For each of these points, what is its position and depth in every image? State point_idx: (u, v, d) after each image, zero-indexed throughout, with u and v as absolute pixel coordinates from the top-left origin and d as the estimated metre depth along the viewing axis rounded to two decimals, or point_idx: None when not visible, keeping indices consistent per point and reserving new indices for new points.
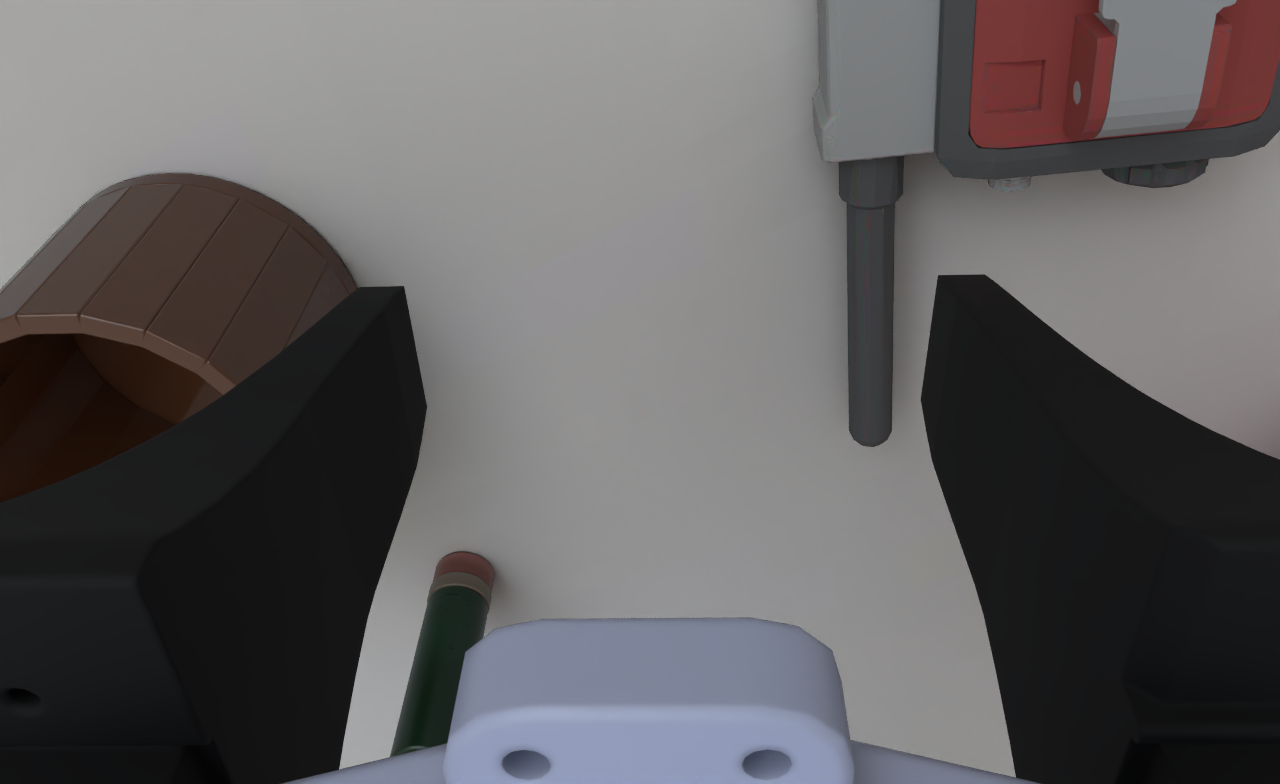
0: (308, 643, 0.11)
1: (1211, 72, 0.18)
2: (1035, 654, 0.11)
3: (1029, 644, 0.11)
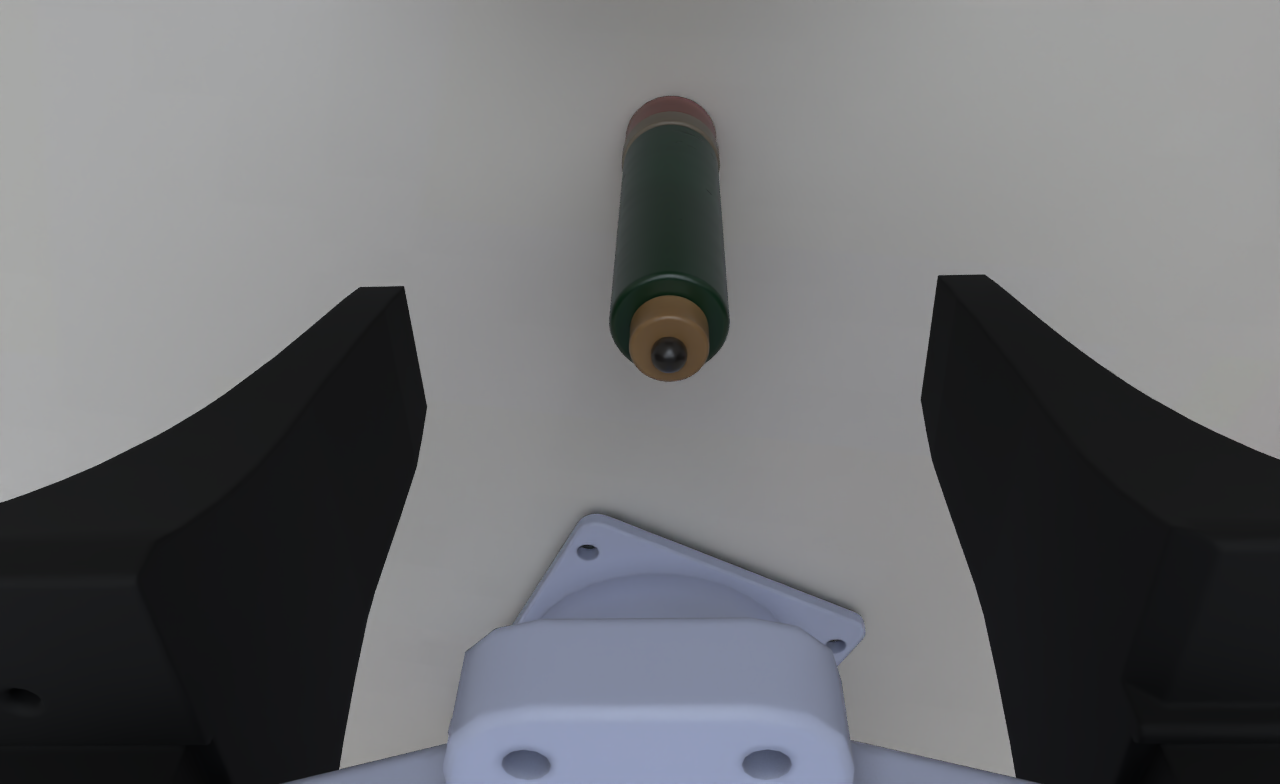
0: (308, 643, 0.11)
1: None
2: (1035, 654, 0.11)
3: (1029, 642, 0.11)
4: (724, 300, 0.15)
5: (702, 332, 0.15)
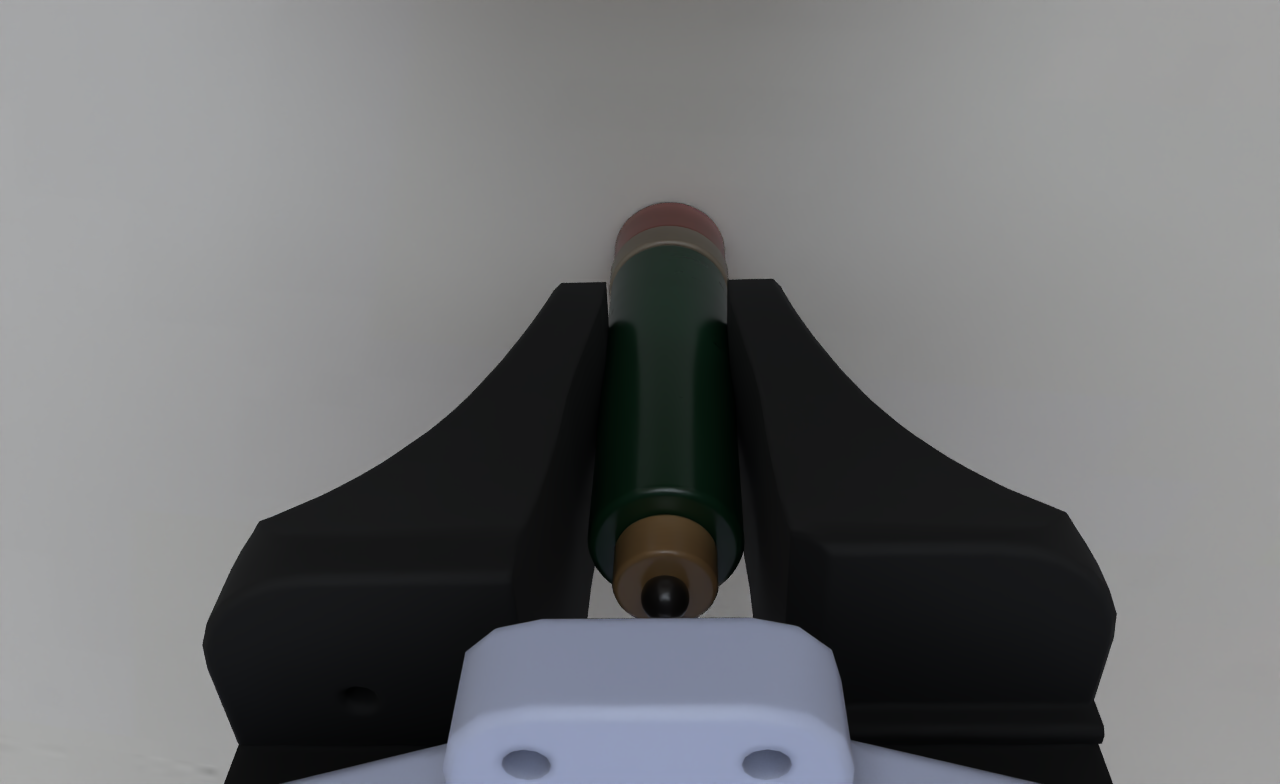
0: None
1: None
2: None
3: None
4: (738, 517, 0.12)
5: (709, 570, 0.11)
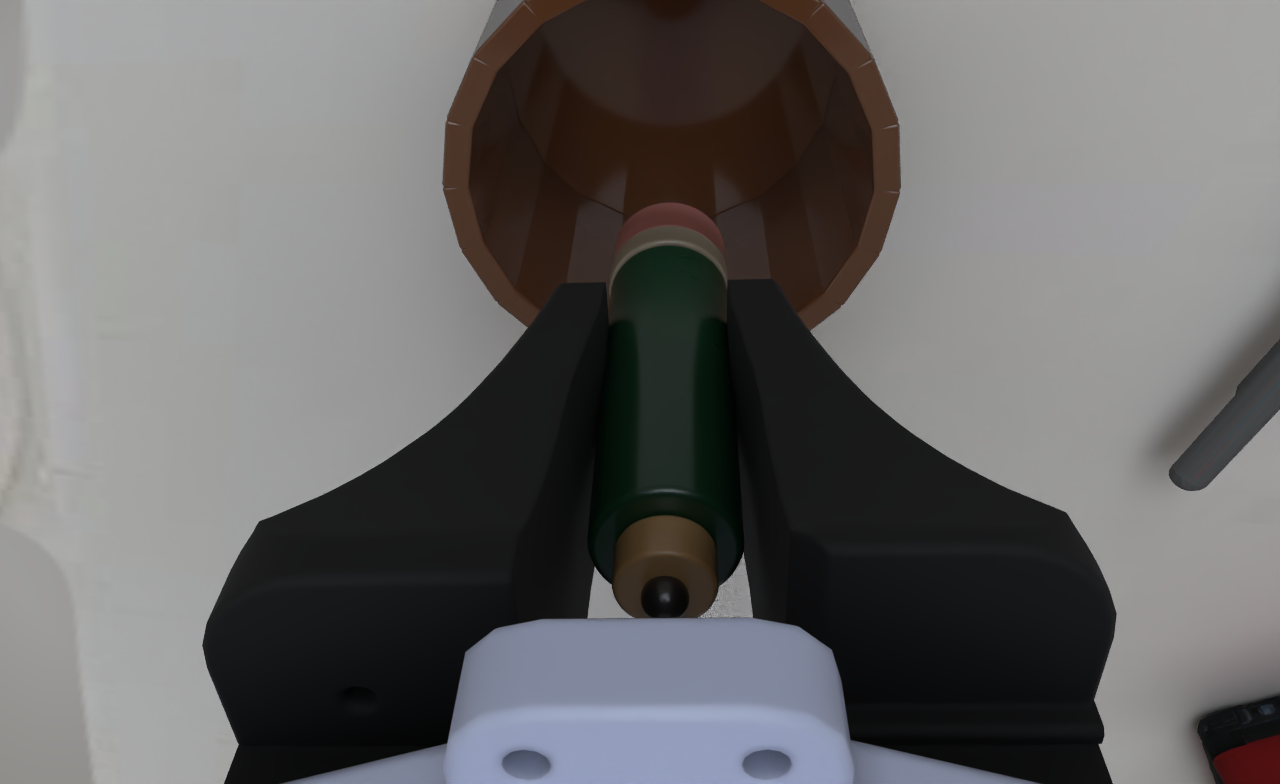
0: None
1: None
2: None
3: None
4: (738, 517, 0.12)
5: (709, 571, 0.11)
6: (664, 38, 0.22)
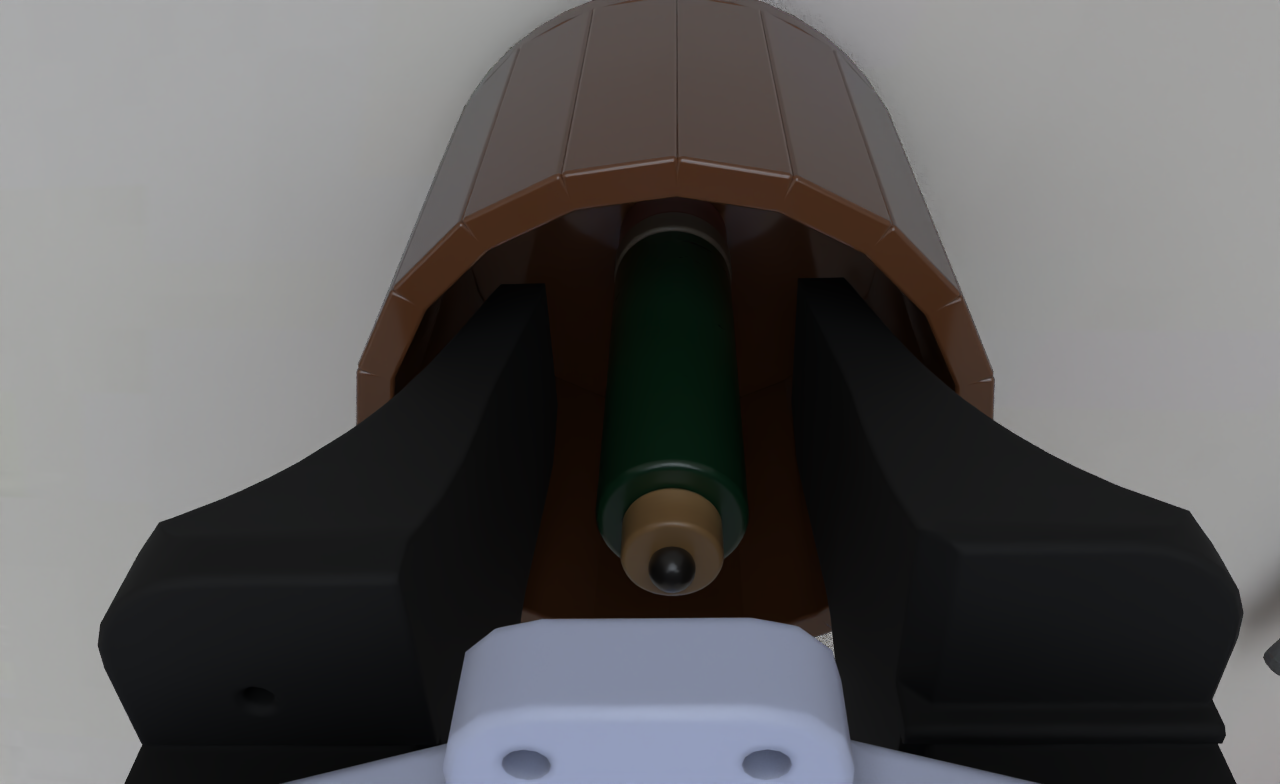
0: None
1: None
2: (855, 655, 0.11)
3: (852, 645, 0.11)
4: (742, 491, 0.12)
5: (715, 541, 0.11)
6: None
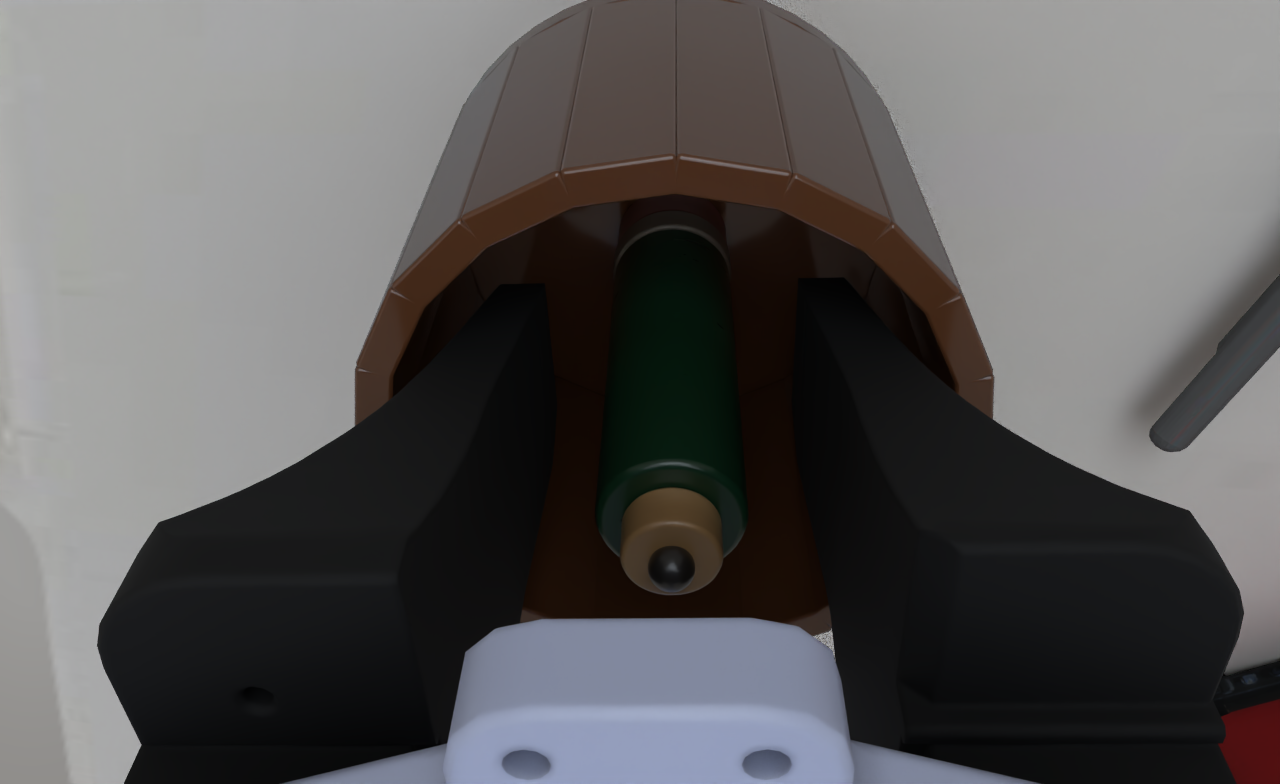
0: None
1: None
2: (855, 655, 0.11)
3: (852, 645, 0.11)
4: (742, 490, 0.12)
5: (715, 541, 0.11)
6: None
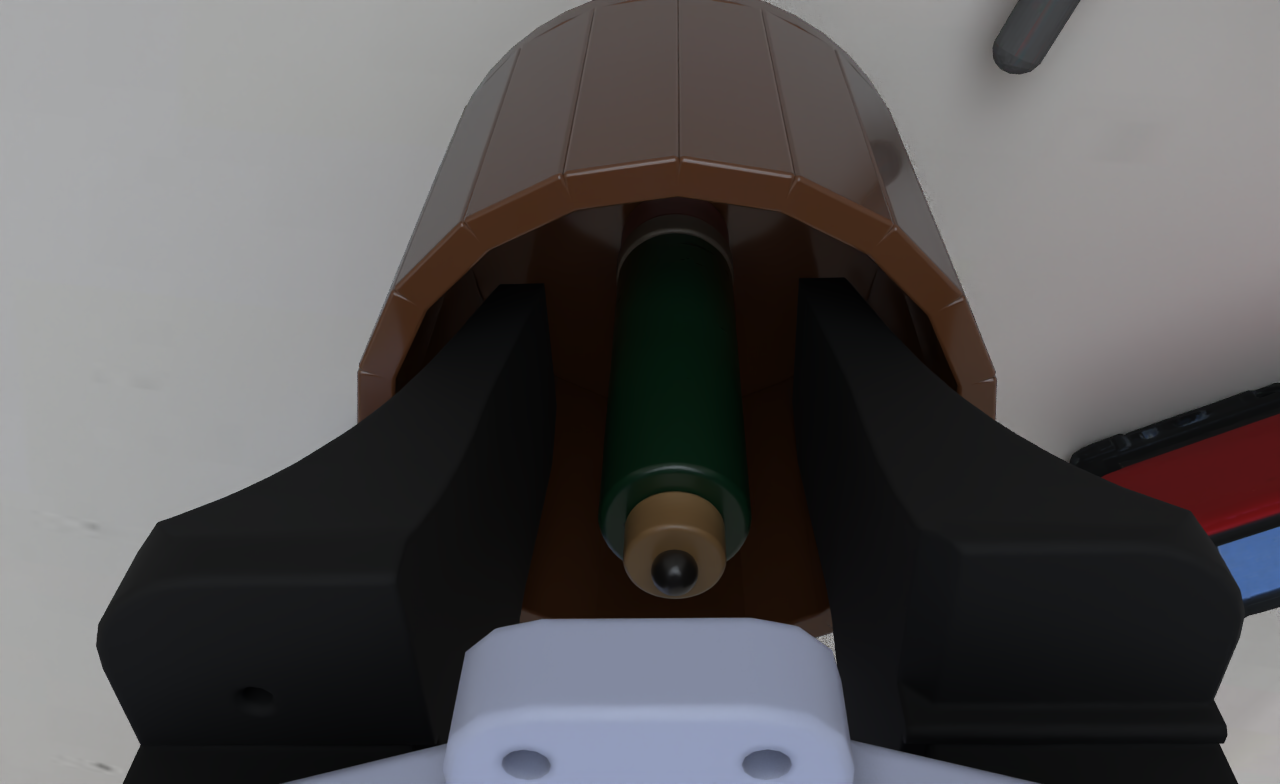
0: None
1: None
2: (856, 655, 0.11)
3: (853, 645, 0.11)
4: (745, 494, 0.12)
5: (717, 544, 0.11)
6: None
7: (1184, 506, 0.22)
